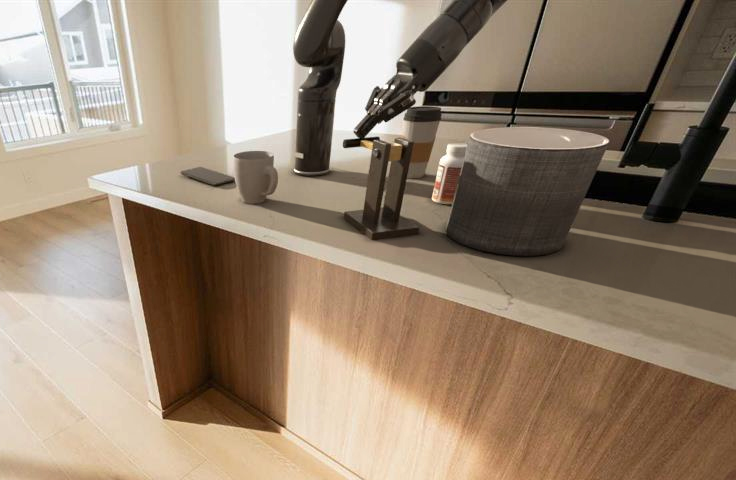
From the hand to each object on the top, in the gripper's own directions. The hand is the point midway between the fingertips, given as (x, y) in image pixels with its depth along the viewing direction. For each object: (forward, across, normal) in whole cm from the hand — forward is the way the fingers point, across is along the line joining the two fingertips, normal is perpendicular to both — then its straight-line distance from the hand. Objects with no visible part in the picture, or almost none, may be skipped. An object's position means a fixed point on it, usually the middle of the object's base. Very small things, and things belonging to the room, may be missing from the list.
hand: (357, 135), depth 81 cm
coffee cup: (-8, -19, +28) cm, 34 cm away
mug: (+22, -11, -2) cm, 25 cm away
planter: (-3, +22, +23) cm, 32 cm away
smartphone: (+28, -35, -8) cm, 45 cm away
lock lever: (+1, +6, +2) cm, 7 cm away
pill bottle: (-5, +2, +25) cm, 25 cm away
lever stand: (+9, +11, +11) cm, 18 cm away
